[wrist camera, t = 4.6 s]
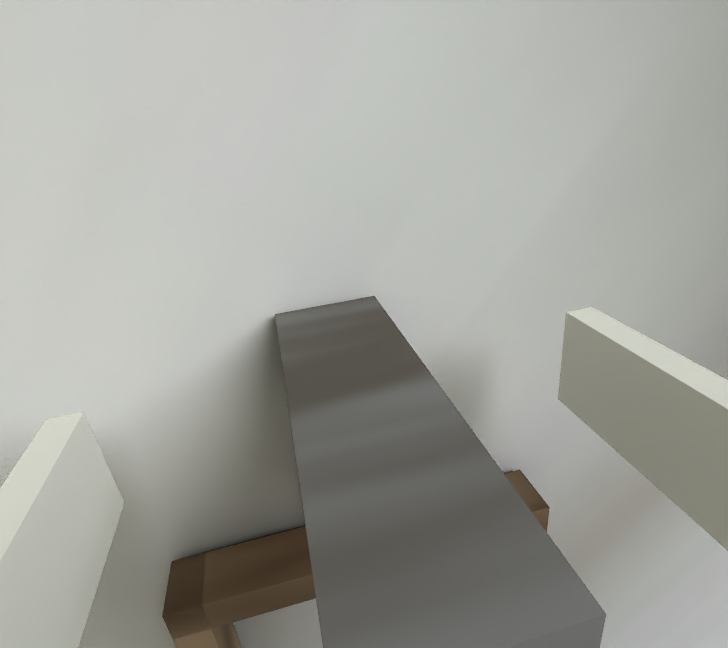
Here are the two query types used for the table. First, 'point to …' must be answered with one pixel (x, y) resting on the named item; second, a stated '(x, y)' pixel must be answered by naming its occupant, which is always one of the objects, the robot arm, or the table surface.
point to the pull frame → (388, 515)
